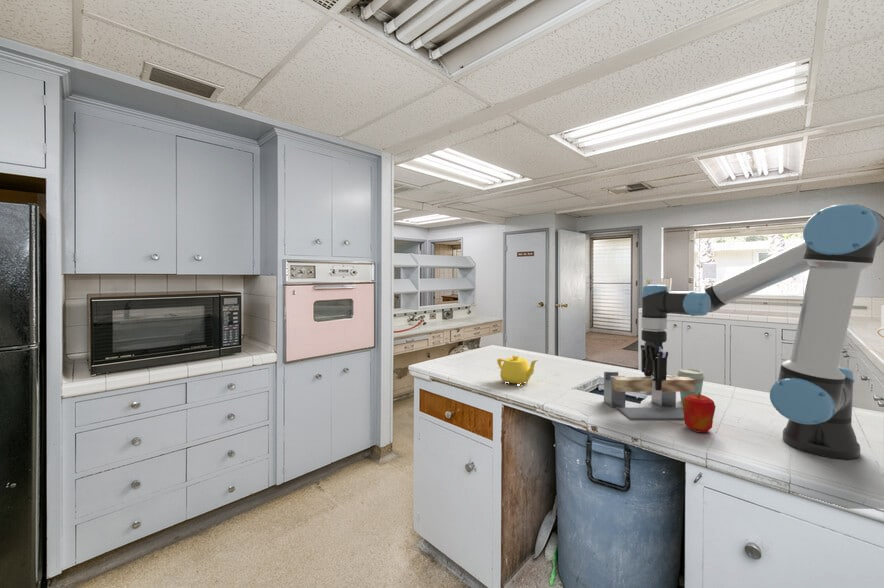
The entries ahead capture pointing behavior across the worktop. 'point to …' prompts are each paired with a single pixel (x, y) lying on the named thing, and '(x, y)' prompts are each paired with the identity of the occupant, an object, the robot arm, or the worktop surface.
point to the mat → (653, 413)
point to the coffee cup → (694, 375)
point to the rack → (618, 398)
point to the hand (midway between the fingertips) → (653, 396)
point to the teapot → (516, 369)
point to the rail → (646, 384)
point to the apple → (698, 412)
